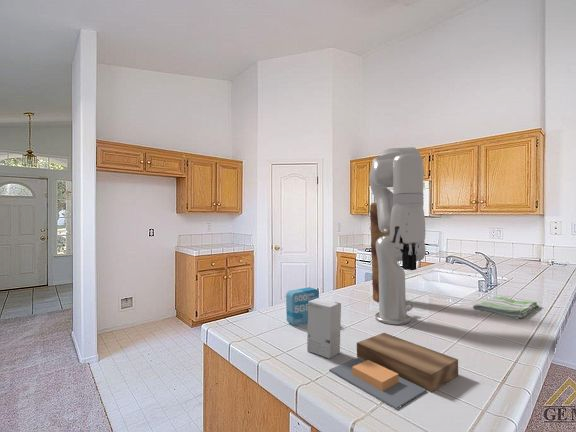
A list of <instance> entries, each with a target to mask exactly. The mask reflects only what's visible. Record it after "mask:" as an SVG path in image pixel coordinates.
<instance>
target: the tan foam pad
mask: <svg viewBox="0 0 576 432" xmlns="http://www.w3.org/2000/svg"><path fill="white" fill-rule="evenodd" d="M352 375H353V376H355V377H357V378H359V379H361V380H363V381H365V382H366V383H368V384H370V385H372V386H374V387H376V388H377V389H379V390H381V391H384V390H386V389H387V388H389V387H391V386H393V385H395V384H396V383H398V382H399V376H398V373H395V372H393V371H391V370H389V369H387V368H385V367H383V366H380V365H378V364H376V363H374V362H372V361H370V360H367V361H364V362H362V363H360V364H358V365H355V366H353V367H352Z"/></svg>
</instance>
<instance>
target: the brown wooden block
mask: <svg viewBox="0 0 576 432" xmlns="http://www.w3.org/2000/svg"><path fill="white" fill-rule="evenodd" d="M358 357H359V358H361V359H363V360H365V361H367V360H370V361H372V362H374V363H376V364H378V365H380V366H383V367H385V368H387V369H389V370H391V371H393V372H395V373H398V376H399V377H401V378H403V379H405V380H407V381H409V382H411V383H414V384H416V385H418V386H420V387H422V388H424V389H426V392H427V391H428V392H429V393H434V392H435V391H437V390H438V389H440V388H441V387H443V386H444V385H446V384H447V383H449V382H450V381H452V380H453V379H456V378H457V377H459V359H458V358H455V357H453V356H449V355H448V354H445V353H442V352H438V351H436V350H434V349H431V348H427V347H424V346H422V345H419V344H416V343H414V342H410V341H408V340H405V339H403V338H400V337H396V336H394V335H391V334H388V333H385V332H382V333H378V334H377V335H374V336H371V337H368V338H366V339H363V340H361V341H357V342H356V358H358ZM439 387H440V388H439Z"/></svg>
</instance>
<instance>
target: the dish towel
mask: <svg viewBox="0 0 576 432" xmlns="http://www.w3.org/2000/svg"><path fill="white" fill-rule="evenodd" d="M472 308H473V310H474V311H479V312H484V313H488V314H492V315H496V316H497V315H498V316H504V317H507V318H512V319H517V320H521V319H522V318H524V317H526V316H528V315H529V314H530V313H532V312H534V311H535V310H537V309H538V308H539V305H538V303H537V302H536V301H525V300H515V299H512V298H508V297H503V296H494V297H492V298H490V299H487V300H486V301H483V302H480V303H474V304H473V305H472Z"/></svg>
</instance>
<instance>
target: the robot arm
mask: <svg viewBox="0 0 576 432" xmlns="http://www.w3.org/2000/svg"><path fill="white" fill-rule="evenodd" d="M370 166H371V167H370V172H369V175H368V176H369V177H368V179H369V186H370V191H371V192H372V195H373V196H374V199H375V203H377V215H378V226H379V230H380V231H381V232H382V233H385V234H390V235H388V236H382V237H380V238H378V239H377V241H376V252H377V259H378V270H379V302H378V306H379V308H378V311H379V312H376V313H375V316H374V317H375V319H376V320H377V322H380V323H383V324H389V325H406V324H409V323H410V322H411V316H410V315H408V314H407V313H408V312H409V311H411V310H412V309H413V307H412V305H410V304H409V305H406V302H407V301H406V300H407V299H406V274H405V270H407V271H416V270H417V262H418V261H422V260H424V258H425V256H426V241H425V239H426V218H425V212H424V211H425V209H424V206H425V205H424V172H425V170H424V169H425V167H424V160H423V157H422V154H421V152H420V150H419V149H418V148H416V147H414V146H413V147H412V146H411V147H410V146H409V147H408V146H407V147H395V148H394V147H393V148H387V149H385V150H383V151H382V152H381V153H380V154H379V156H376V157H374V158H373V160H372V162H371V165H370ZM388 188H393V189H392V190H393V191H391V190H390V189H388ZM398 262H401V264H402V266H400V264H399V263H398Z"/></svg>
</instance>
